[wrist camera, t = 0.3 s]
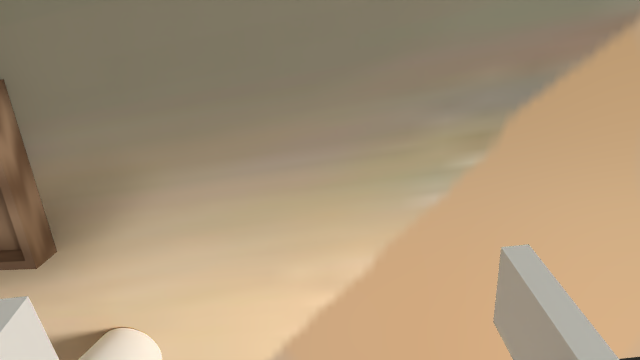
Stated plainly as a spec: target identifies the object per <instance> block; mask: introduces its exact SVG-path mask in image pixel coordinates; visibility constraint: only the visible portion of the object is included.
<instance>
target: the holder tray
mask: <svg viewBox="0 0 640 360" xmlns="http://www.w3.org/2000/svg"><path fill="white" fill-rule="evenodd" d="M56 252H57V251H56V247H55V244H54V241H53V238H52V234H51V231H50V228H49V225H48V221H47V218H46V215H45V212H44V209H43V205H42V202H41V199H40V196H39V192H38V189H37V186H36V183H35V179H34V176H33V173H32V170H31V166H30V163H29V160H28V157H27V154H26V150H25V147H24V144H23V141H22V137H21V134H20V131H19V128H18V124H17V121H16V118H15V115H14V111H13V108H12V105H11V102H10V99H9V95H8V92H7V89H6V86H5V82H4V79H3V80H0V270H17V269H37V268H38V267H39V266H41V265H42V264H43V263H44V262H45V261H46V260H48V259H49V258H50V257H51V256H52V255H54V254H55V253H56Z"/></svg>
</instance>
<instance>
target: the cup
mask: <svg viewBox="0 0 640 360" xmlns="http://www.w3.org/2000/svg"><path fill="white" fill-rule="evenodd" d="M78 360H162V354H161V351H160V349H159V347H158V345H157V344H156V343H155V341H154V340H153V339H152V338H150V337H149V336H148V335H146V334H144V333H143V332H140V331H138V330H135V329H131V328H117V329H113V330H110V331H108V332H107V333H105V334H104V335H103V336H102V337H101V338H100V339H99V340H98V341H97V342H96V343H95V344H94V345H93V346H92V347H91V348H90V349H89V350H88V351H87V352H86V353H84V354H83V355H82V356H81V357H80V358H79V359H78Z"/></svg>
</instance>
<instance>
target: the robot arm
mask: <svg viewBox="0 0 640 360" xmlns="http://www.w3.org/2000/svg"><path fill="white" fill-rule="evenodd" d="M493 322H494V324H495V326H496V328H497V330H498V332H499V334H500V336H501V337H502V339H503V341H504V343H505V345H506V347H507V349H508V351H509V353H510V354H511V356H512V358H513V360H640V357H634V358H625V359H618V357H617V356H616V355H615V354H614V352H613V351H612V350H611V348H610V347H609V346H608V345H607V343H606V342H605V341H604V339H603V338H602V337H601V336H600V334H599V333H598V332H597V331H596V329H595V328H594V327H593V325H592V324H591V323H590V322H589V320H588V319H587V318H586V317H585V315H584V314H583V313H582V312H581V310H580V309H579V308H578V306H577V305H576V304H575V303H574V301H573V300H572V299H571V298H570V296H569V295H568V294H567V292H566V291H565V290H564V289H563V287H562V286H561V285H560V283H559V282H558V281H557V280H556V279H555V277H554V276H553V275H552V273H551V272H550V271H549V270H548V268H547V267H546V266H545V264H544V263H543V262H542V261H541V259H540V258H539V257H538V256H537V254H536V253H535V252H534V250H533V249H532V248H531V247H530V245H529V244H528V245H519V246H509V247H501V254H500V263H499V273H498V282H497V293H496V302H495V311H494V321H493ZM0 360H59V358H58V356H57V354H56V352H55V350H54V348H53V346H52V344H51V342H50V340H49V338H48V336H47V334H46V332H45V330H44V328H43V326H42V324H41V322H40V320H39V318H38V315H37V313H36V311H35V309H34V307H33V305H32V303H31V301H30V299H29V297H28V296H26V297H16V298H7V299H0Z"/></svg>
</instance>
